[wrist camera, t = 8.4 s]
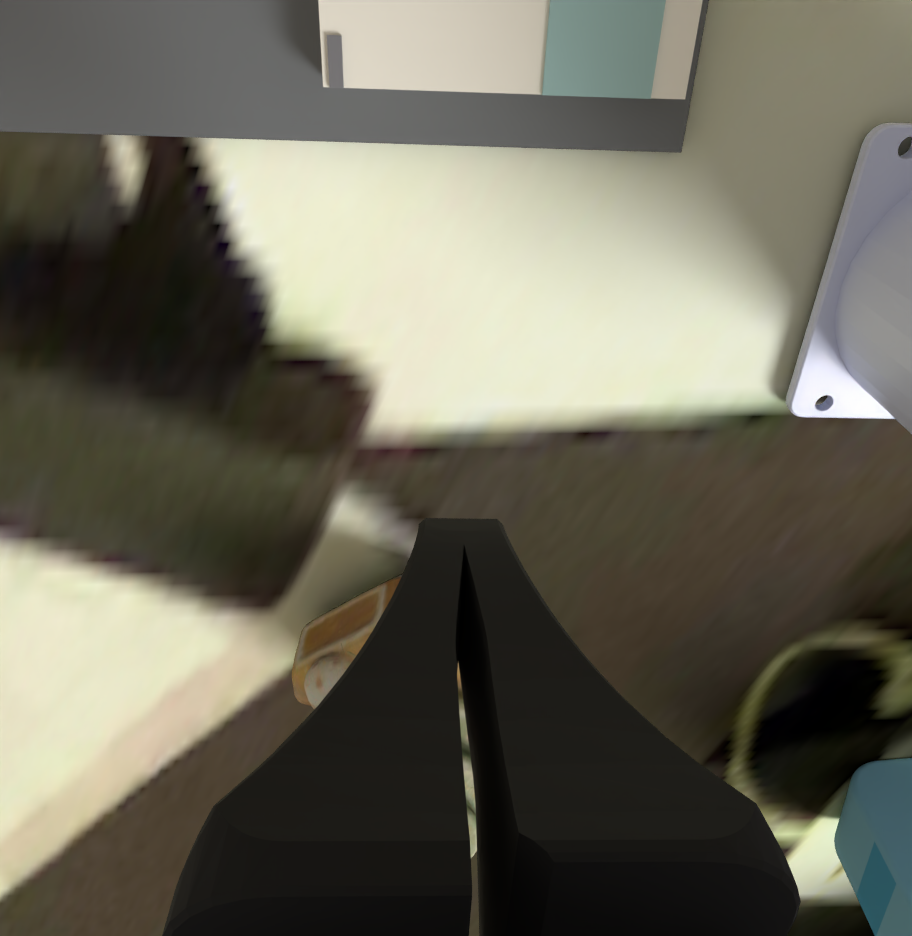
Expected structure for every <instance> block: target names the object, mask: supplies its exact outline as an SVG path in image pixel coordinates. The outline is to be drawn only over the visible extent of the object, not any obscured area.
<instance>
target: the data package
mask: <svg viewBox="0 0 912 936" xmlns="http://www.w3.org/2000/svg"><path fill="white" fill-rule="evenodd" d="M834 842H835V849H836V852H837V855H838V857H839V859H840V862H841V864H842V866H843V868H844V870H845V872H846V875H847V877H848V879H849V881H850V883H851V885H852V888H853V890H854V892H855V894H856V896H857V898H858V901H859V903H860V905H861V907H862V909H863V911H864V914H865V916H866V918H867V920H868V922H869V924H870V927H871V929H872V931H873V933H874V935H875V936H912V758H904V759H892V760H880V761H872V762H868V763H866V764H864V765H862V766H860V767H859V768H858V769H857V770H856V771H855V772H854V774H853V776H852V778H851V781H850V784H849V788H848V791H847V795H846V798H845V802H844V805H843V809H842V812H841V816H840V819H839V823H838V826H837V829H836V833H835V840H834Z"/></svg>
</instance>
